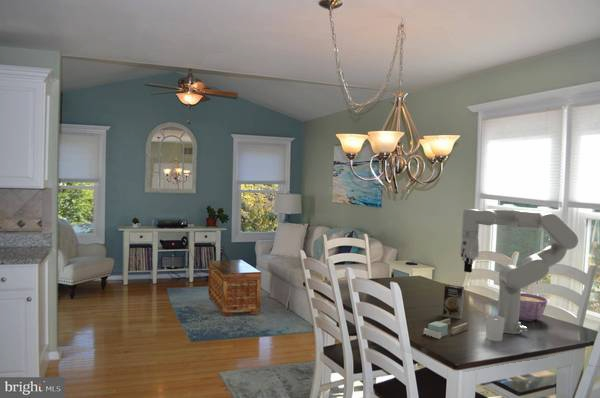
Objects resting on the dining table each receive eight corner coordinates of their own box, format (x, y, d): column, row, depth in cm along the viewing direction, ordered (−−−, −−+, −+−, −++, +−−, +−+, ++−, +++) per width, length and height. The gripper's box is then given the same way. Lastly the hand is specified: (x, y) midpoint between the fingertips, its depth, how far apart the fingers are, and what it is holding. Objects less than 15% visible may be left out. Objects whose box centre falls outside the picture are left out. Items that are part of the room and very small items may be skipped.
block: (447, 334, 231) (447, 324, 231) (439, 337, 226) (440, 327, 226) (435, 331, 236) (436, 321, 235) (427, 334, 231) (428, 323, 230)
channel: (467, 329, 241) (468, 323, 241) (453, 335, 231) (453, 328, 231) (448, 324, 248) (448, 318, 248) (433, 329, 238) (433, 323, 238)
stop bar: (440, 338, 226) (441, 332, 225) (439, 338, 225) (439, 333, 224) (425, 333, 231) (425, 328, 231) (423, 334, 230) (423, 328, 230)
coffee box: (442, 316, 262) (444, 286, 261) (445, 313, 268) (446, 283, 267) (460, 319, 258) (462, 288, 257) (462, 316, 264) (464, 286, 263)
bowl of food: (551, 326, 253) (552, 303, 252) (508, 322, 257) (510, 299, 256) (540, 315, 272) (541, 294, 272) (501, 312, 276) (502, 291, 276)
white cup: (488, 335, 233) (489, 314, 233) (505, 339, 228) (507, 317, 228) (482, 339, 227) (483, 317, 226) (500, 343, 222) (501, 321, 221)
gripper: (469, 236, 235) (467, 274, 236) (484, 234, 246) (482, 271, 247) (455, 234, 241) (453, 272, 241) (470, 232, 251) (467, 269, 252)
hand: (467, 271), depth 244 cm, fingers closed
